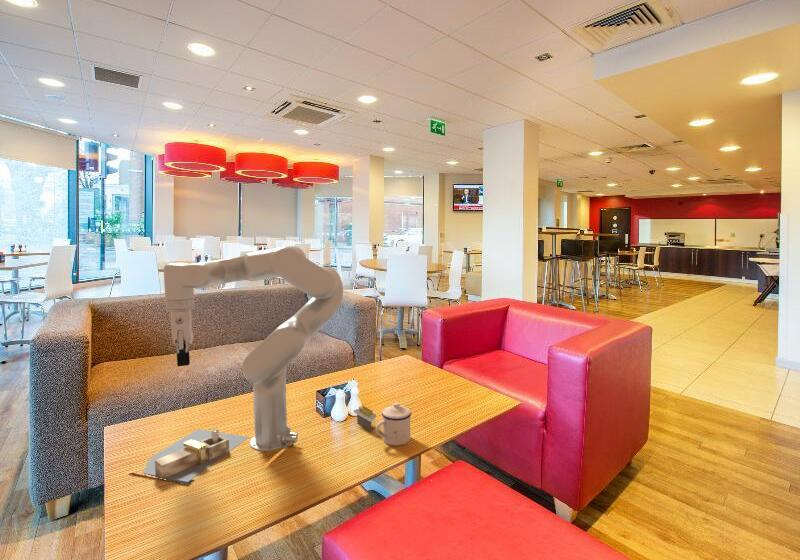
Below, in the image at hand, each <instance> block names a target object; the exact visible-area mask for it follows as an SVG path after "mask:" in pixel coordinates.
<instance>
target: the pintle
mask: <svg viewBox="0 0 800 560" xmlns="http://www.w3.org/2000/svg"><path fill="white" fill-rule="evenodd" d="M210 431H211V435H212V445H213V444H216V443H218V442H219V432H220V430H219V429H213V430H210Z"/></svg>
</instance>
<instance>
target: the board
mask: <svg viewBox="0 0 800 560" xmlns="http://www.w3.org/2000/svg"><path fill="white" fill-rule="evenodd" d="M211 431H212V430H207V429H206V430H205V429H200V428H199V429H195V431H192V432H191V433H189V434H187V435H186V436H184V437H182V438H181V439H179V440H177V441H176V442H174V443H172V444H170V445H169V446H168V447H166V448H164V449H162V450H161V451H159V452H157V453H156V454H154V455H152V456H151V457H152V458H151V457H149V458H150V459H151V460H150V459H149V458H147V459H148V460H149V461H150V462H149V461H148V462H147V465H146V466H147V468H146V466H145V468H146V469H145V468H144V470H145V471H144V470H143V471H144V472H142V473H144V474H148V475H151V476H155V477H158V478H161V477H160V476H159V475H157V474H156V472H155V460H156V459H159V458H162V457H164V456H167V455H169V454H172V453H174V452H177V451H179V450H182V449H184V448H187V447H184V446H183V443H184V442H186V441H188V440H190V439H192V440H195V441H198V442H199V441H201V440H204V439H206V438H209V437H211V436H212V435H211ZM219 435H221V436H223V437H225V438H227V439H228V440H229V452H227V453H225V454H222V455H220V456H218V457H216V458H213V459H211V460H208V459H207V460H206V463H205V464H203V465H199V464H196V465H194V466H191V467H189V468H187V469H184V470H182V471H180V472H178V473H175V474H173V475H171V476H168V477H166V478H164V479H166V480H170V481H169V482H171V481H175V482H174V483H176V482H178V483H177V484H181V483H182V484H181V485H187V486H189V485H190V484H192V483H193V482H194V481H195V479H194V478H196V477H197V476H198V475H201V473H203V472H204V471H206V469H208V468H209V467H211V466H212V465H214V464H215V463H216V462H217V461H219V460H220V459H222V458H223V457H224V456H226V455H228V453H230V452H231V451H232V450H234V449H236V448H237V447H238V446H239V445H241V444H242V443H244V442H245V441H246V440H248V439H249V438H250V437H249V436H246V435H245V436H244V435H239V434H232V433H225V432H220V431H219ZM143 466H144V465H143ZM141 470H142V469H141ZM166 480H165V481H166ZM191 482H192V483H191Z"/></svg>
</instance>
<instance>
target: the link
mask: <svg viewBox="0 0 800 560" xmlns="http://www.w3.org/2000/svg"><path fill="white" fill-rule="evenodd" d="M199 442H201V443H203V444H206V445H207V448H206V449H205V455H206V460H207V459H208V460H211V459H213V458H216V457H218V456H220V455H222V454H225V453H227V452H228V453H230V452H229V440H228V439H227V438H225V437H223V436H221V435H219V442H218V443H216V444H213V445H212V436H211V437H209V438H206V439H204V440H201V441H199ZM228 453H227V454H228ZM196 464H198V454H197V451H195V450H192V449H190V448H184V449H182V450H179V451H177V452H174V453H172V454H169V455H167V456H164V457H162V458H159V459H156V460H155V472H156V474H157V475H159V476H160V477H161V478H162V479H164V478H166V477H168V476H171V475H173V474H175V473H178V472H180V471H182V470H184V469H187V468H189V467H191V466H194V465H196Z"/></svg>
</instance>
